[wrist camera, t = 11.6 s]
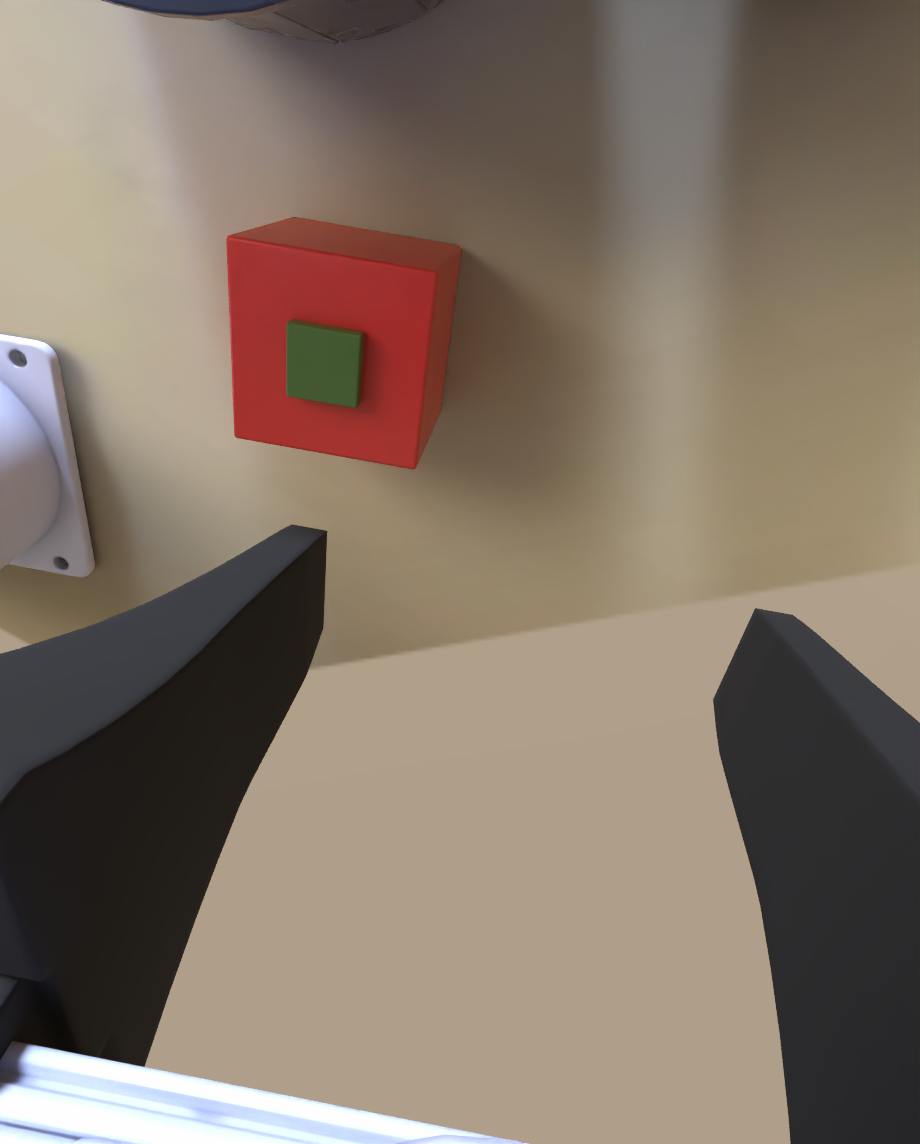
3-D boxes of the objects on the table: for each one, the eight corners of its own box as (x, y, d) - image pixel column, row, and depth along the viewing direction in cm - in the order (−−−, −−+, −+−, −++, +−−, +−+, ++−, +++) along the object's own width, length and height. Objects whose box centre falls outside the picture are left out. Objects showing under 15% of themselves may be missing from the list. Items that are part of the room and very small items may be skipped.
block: (290, 385, 20) (226, 444, 16) (291, 216, 17) (216, 236, 14) (440, 412, 20) (413, 478, 16) (462, 245, 17) (435, 275, 13)
